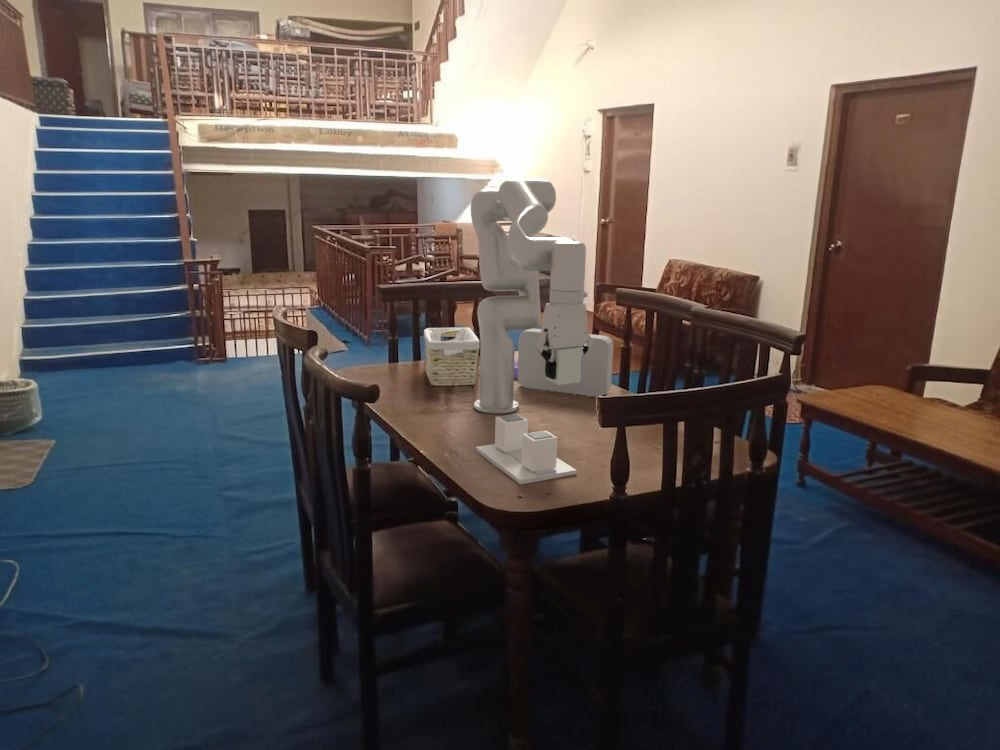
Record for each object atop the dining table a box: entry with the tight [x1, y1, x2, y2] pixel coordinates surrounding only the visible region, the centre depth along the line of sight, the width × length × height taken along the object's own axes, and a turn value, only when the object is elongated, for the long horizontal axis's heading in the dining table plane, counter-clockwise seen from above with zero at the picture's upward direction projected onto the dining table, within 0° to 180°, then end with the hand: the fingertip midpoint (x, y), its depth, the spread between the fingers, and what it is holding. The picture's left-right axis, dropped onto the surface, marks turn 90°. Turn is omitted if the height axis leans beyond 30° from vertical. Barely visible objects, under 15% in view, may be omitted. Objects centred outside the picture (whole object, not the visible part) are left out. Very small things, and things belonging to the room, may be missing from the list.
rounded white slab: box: [517, 327, 615, 398], centre depth 226 cm, size 29×8×18 cm, turn 67°
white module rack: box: [475, 413, 577, 485], centre depth 166 cm, size 22×14×9 cm, turn 27°
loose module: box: [546, 347, 582, 385], centre depth 166 cm, size 5×6×8 cm
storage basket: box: [423, 327, 480, 387], centre depth 237 cm, size 24×16×15 cm
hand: (563, 375), depth 167 cm, fingers closed on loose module, 6 cm apart
